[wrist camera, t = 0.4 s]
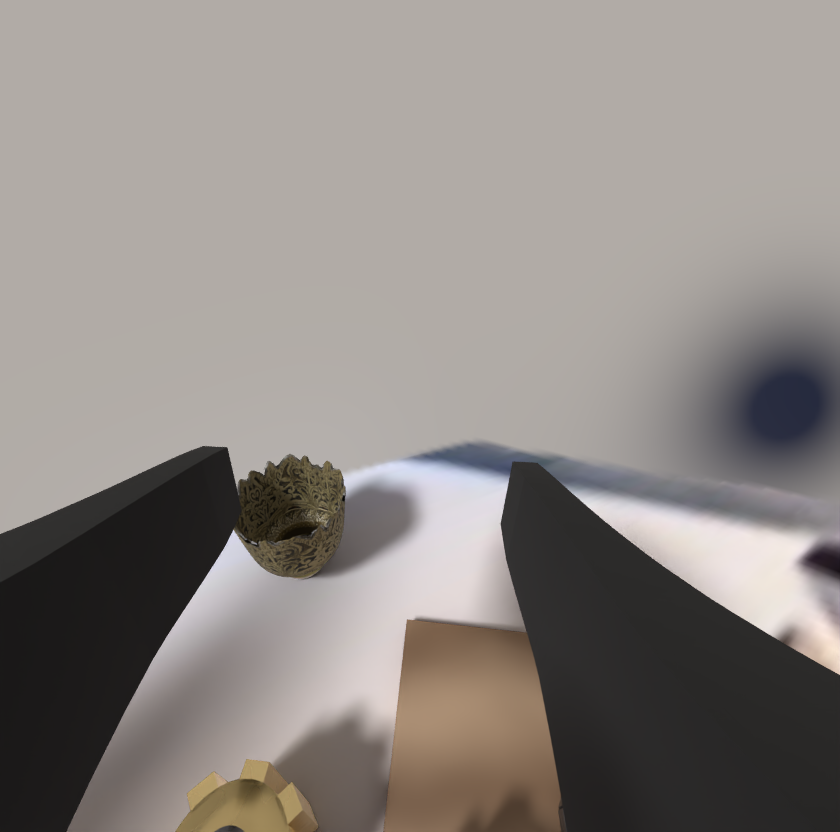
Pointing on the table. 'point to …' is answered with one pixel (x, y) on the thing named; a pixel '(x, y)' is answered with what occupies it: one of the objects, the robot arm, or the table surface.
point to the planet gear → (248, 803)
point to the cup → (292, 516)
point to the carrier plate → (470, 735)
